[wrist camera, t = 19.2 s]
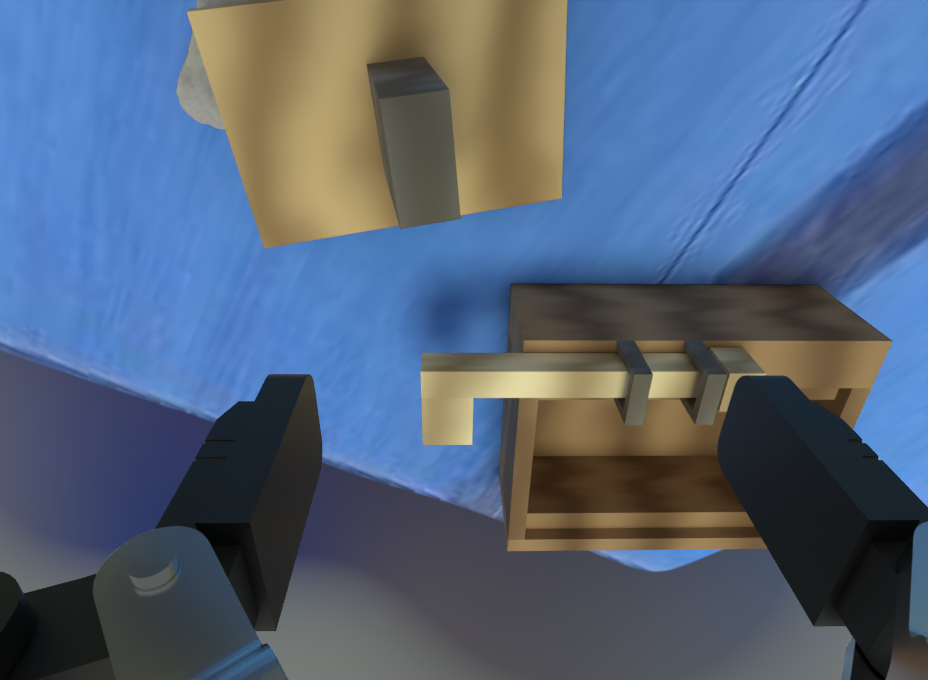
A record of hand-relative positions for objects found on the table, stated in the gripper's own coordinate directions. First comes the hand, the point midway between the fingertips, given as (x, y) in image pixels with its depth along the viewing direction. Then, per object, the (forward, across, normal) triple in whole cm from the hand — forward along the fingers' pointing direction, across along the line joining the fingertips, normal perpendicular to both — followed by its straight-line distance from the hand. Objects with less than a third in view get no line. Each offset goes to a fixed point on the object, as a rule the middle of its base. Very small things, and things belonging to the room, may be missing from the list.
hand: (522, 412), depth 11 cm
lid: (+26, +4, -2) cm, 26 cm away
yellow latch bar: (+20, -7, +13) cm, 25 cm away
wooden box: (+28, -14, +19) cm, 37 cm away
